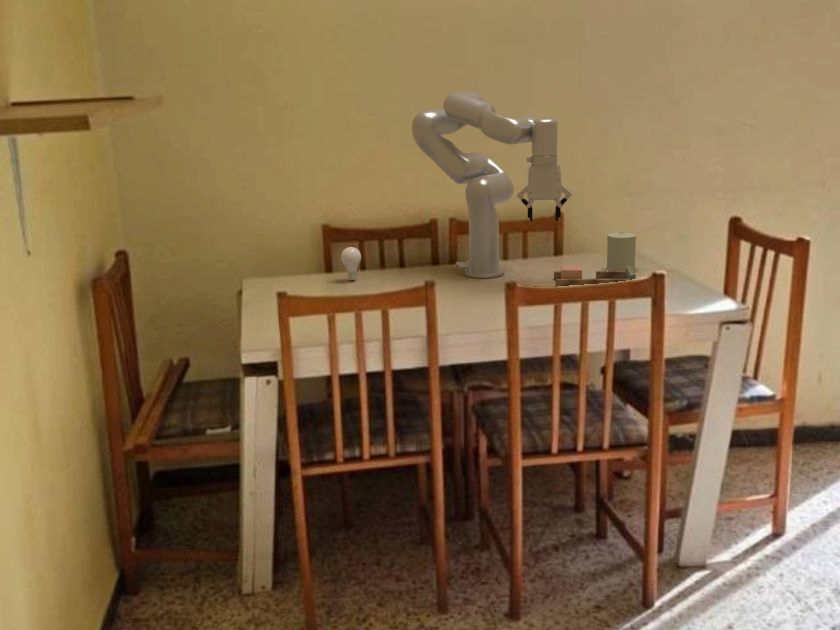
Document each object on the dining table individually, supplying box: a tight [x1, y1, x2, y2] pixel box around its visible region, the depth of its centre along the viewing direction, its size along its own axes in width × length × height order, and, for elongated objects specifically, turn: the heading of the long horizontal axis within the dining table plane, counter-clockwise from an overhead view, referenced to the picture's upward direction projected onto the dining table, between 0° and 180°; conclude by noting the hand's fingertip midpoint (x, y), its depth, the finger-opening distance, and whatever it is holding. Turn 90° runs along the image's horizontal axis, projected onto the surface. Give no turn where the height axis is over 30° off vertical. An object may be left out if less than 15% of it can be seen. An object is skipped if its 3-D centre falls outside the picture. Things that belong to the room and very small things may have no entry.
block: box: [560, 265, 583, 279], centre depth 274 cm, size 6×6×5 cm
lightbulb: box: [340, 246, 362, 282], centre depth 284 cm, size 6×6×11 cm
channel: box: [553, 266, 637, 288], centre depth 273 cm, size 24×12×4 cm, turn 84°
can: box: [605, 231, 637, 272], centre depth 288 cm, size 9×9×12 cm
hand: (543, 219), depth 270 cm, fingers open, 7 cm apart
